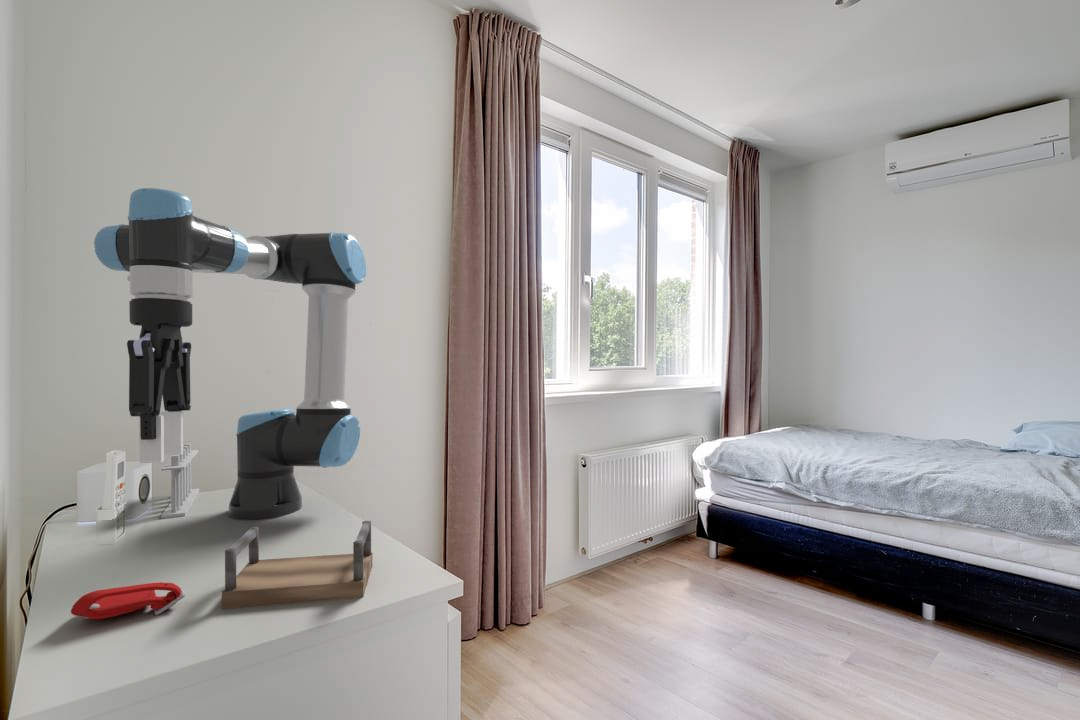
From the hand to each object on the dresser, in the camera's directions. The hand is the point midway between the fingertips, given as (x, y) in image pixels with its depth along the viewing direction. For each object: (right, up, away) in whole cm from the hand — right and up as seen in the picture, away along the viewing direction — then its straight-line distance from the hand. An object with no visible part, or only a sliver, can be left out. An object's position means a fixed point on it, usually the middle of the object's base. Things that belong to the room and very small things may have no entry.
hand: (162, 458), depth 79 cm
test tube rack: (-32, -21, +52) cm, 65 cm away
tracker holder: (0, -19, +1) cm, 19 cm away
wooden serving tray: (+19, -21, +5) cm, 28 cm away
